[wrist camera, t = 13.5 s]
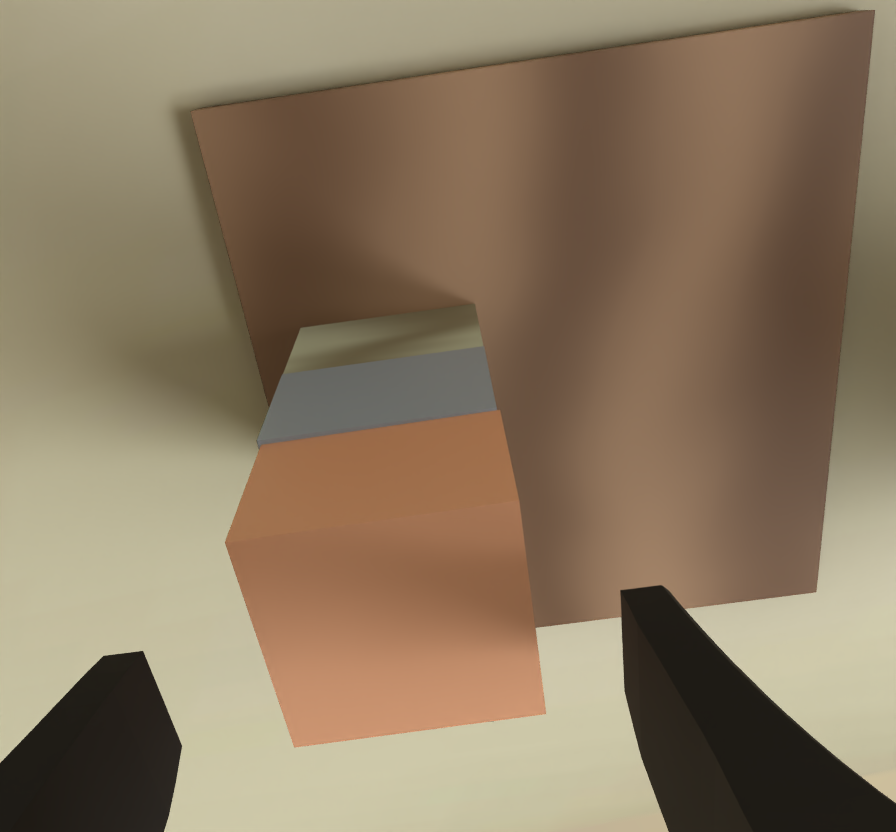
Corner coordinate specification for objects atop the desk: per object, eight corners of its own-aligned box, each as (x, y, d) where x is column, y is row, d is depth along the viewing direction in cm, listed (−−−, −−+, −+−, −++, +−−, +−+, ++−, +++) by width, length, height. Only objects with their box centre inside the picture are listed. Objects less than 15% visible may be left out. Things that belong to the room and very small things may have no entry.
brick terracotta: (500, 409, 14) (519, 500, 11) (524, 598, 16) (546, 713, 13) (261, 444, 14) (224, 542, 12) (314, 627, 16) (294, 747, 14)
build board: (860, 10, 17) (961, 7, 14) (807, 579, 25) (866, 663, 21) (197, 109, 18) (148, 127, 15) (336, 639, 25) (324, 730, 22)
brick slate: (484, 346, 17) (496, 407, 14) (504, 515, 19) (519, 597, 16) (281, 374, 17) (256, 440, 14) (324, 539, 19) (308, 625, 16)
